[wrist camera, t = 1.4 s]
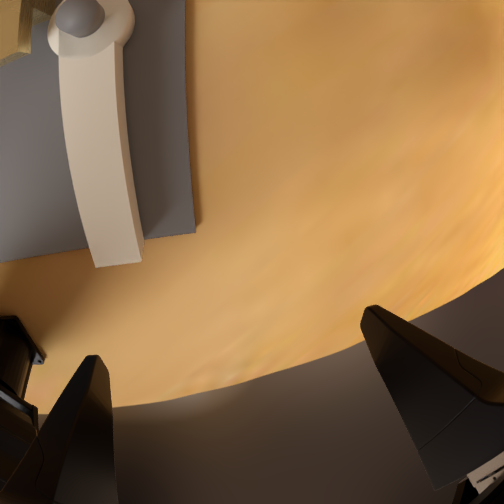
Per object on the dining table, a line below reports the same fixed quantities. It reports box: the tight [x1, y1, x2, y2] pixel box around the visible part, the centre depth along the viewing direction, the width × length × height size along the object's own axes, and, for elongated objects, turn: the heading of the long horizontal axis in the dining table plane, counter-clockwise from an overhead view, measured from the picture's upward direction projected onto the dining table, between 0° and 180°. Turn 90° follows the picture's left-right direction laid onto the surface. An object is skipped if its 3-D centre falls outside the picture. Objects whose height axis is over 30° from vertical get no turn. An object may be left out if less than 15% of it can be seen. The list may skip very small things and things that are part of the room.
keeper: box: [0, 0, 56, 67], centre depth 7 cm, size 6×4×5 cm
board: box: [0, 0, 196, 263], centre depth 12 cm, size 21×21×1 cm
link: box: [47, 0, 144, 268], centre depth 12 cm, size 16×4×4 cm, turn 0°
